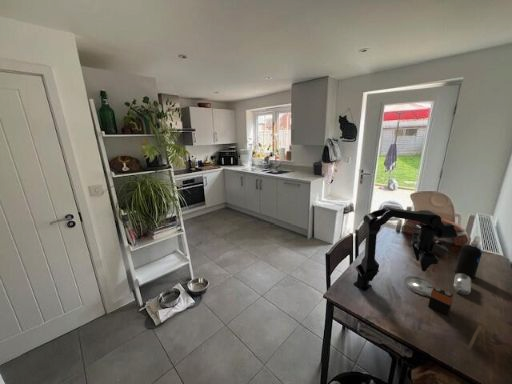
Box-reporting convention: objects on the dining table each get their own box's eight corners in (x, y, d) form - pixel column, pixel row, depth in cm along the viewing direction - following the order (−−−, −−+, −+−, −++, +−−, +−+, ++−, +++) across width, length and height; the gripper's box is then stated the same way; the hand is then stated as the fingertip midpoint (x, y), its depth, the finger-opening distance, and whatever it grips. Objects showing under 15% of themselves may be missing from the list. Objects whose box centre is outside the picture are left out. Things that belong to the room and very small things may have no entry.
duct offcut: (469, 297, 99) (472, 286, 97) (452, 290, 103) (454, 280, 101) (469, 286, 105) (472, 276, 104) (453, 281, 109) (456, 271, 108)
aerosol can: (457, 276, 112) (466, 244, 107) (452, 268, 119) (460, 237, 114) (478, 281, 109) (488, 248, 103) (471, 272, 116) (480, 240, 110)
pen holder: (425, 253, 136) (428, 239, 133) (408, 247, 142) (411, 234, 140) (428, 247, 142) (431, 234, 139) (411, 243, 148) (414, 230, 146)
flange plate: (432, 301, 96) (433, 299, 96) (399, 284, 108) (399, 282, 107) (442, 289, 104) (443, 287, 103) (410, 274, 115) (411, 272, 115)
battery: (447, 316, 88) (452, 297, 86) (427, 306, 94) (432, 288, 91) (449, 311, 91) (454, 292, 88) (430, 302, 96) (434, 284, 94)
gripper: (457, 250, 86) (449, 281, 90) (440, 231, 102) (434, 259, 106) (424, 245, 90) (418, 275, 94) (413, 228, 106) (408, 254, 110)
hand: (420, 265), depth 101 cm, fingers open, 9 cm apart
